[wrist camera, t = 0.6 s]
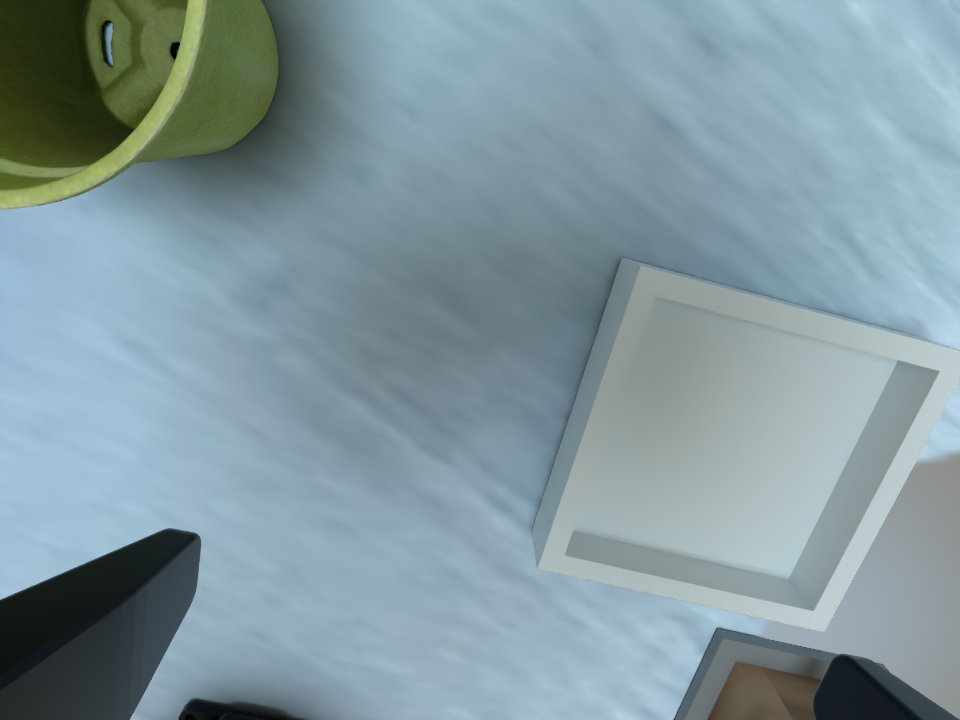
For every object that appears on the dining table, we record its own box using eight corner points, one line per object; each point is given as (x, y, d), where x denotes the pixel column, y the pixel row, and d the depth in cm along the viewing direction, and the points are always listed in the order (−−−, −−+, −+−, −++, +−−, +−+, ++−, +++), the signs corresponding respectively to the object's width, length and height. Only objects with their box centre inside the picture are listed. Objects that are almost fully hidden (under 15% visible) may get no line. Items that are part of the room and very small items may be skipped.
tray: (790, 589, 24) (824, 631, 21) (531, 531, 23) (537, 568, 20) (918, 336, 20) (974, 354, 18) (622, 257, 20) (640, 265, 17)
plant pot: (17, -144, 16) (-472, -501, 8) (337, -104, 16) (191, -408, 8) (54, 187, 19) (-280, 181, 11) (329, 216, 19) (214, 233, 11)
